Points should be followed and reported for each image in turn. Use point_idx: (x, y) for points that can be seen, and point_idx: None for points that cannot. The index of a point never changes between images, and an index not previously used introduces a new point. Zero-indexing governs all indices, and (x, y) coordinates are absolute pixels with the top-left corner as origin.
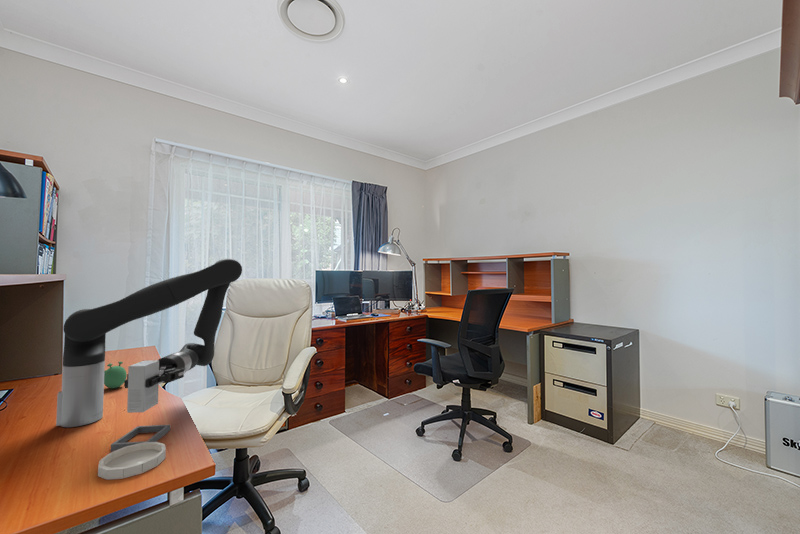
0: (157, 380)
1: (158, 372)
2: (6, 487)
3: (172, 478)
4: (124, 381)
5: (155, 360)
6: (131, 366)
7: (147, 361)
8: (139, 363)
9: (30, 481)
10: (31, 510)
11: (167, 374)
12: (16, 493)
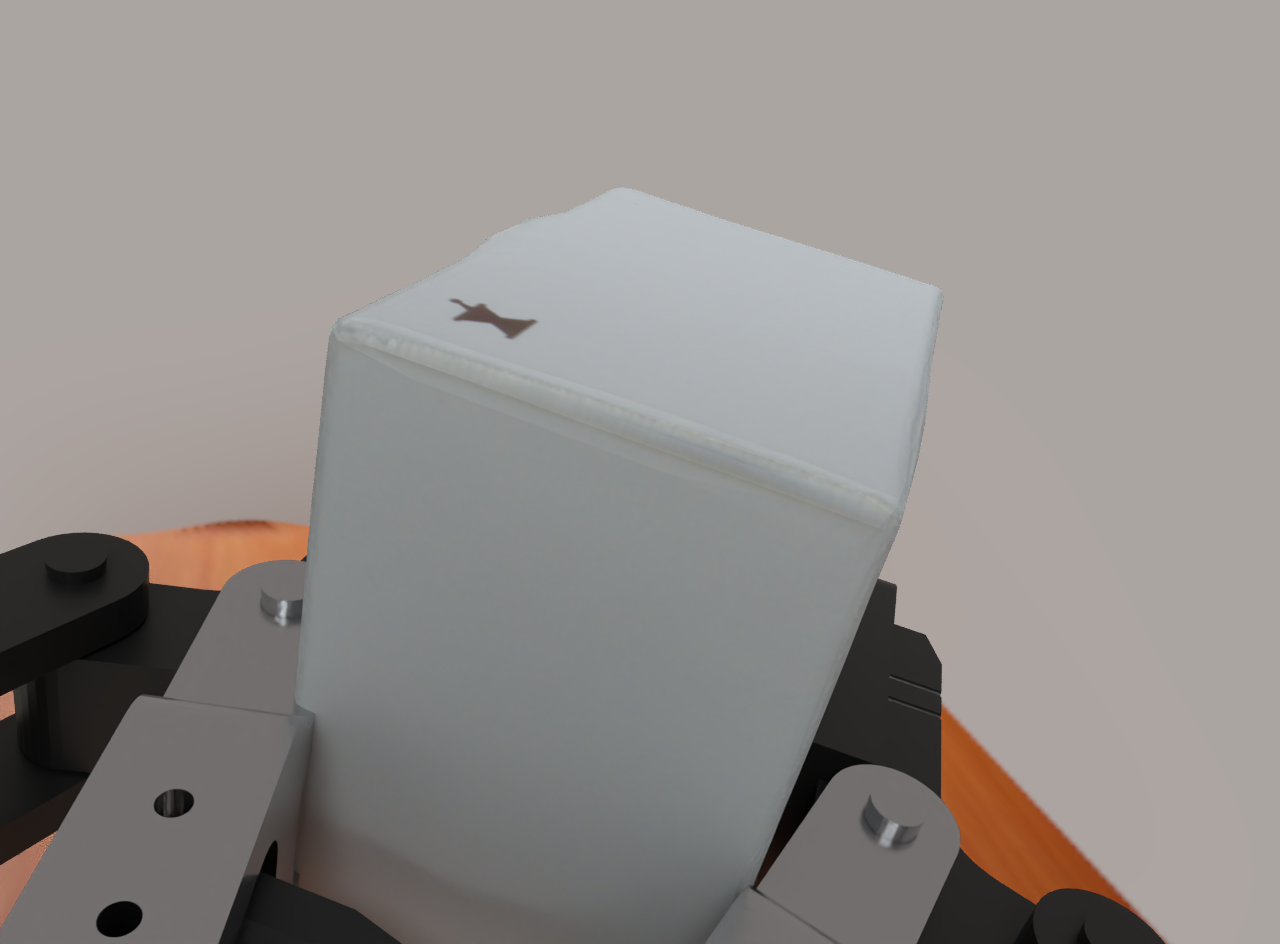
0: None
1: (308, 656)
2: (1105, 877)
3: (228, 532)
4: (922, 645)
5: (455, 343)
6: (879, 274)
7: (688, 357)
8: (821, 314)
9: (1018, 883)
10: None
11: (101, 540)
12: (982, 781)
